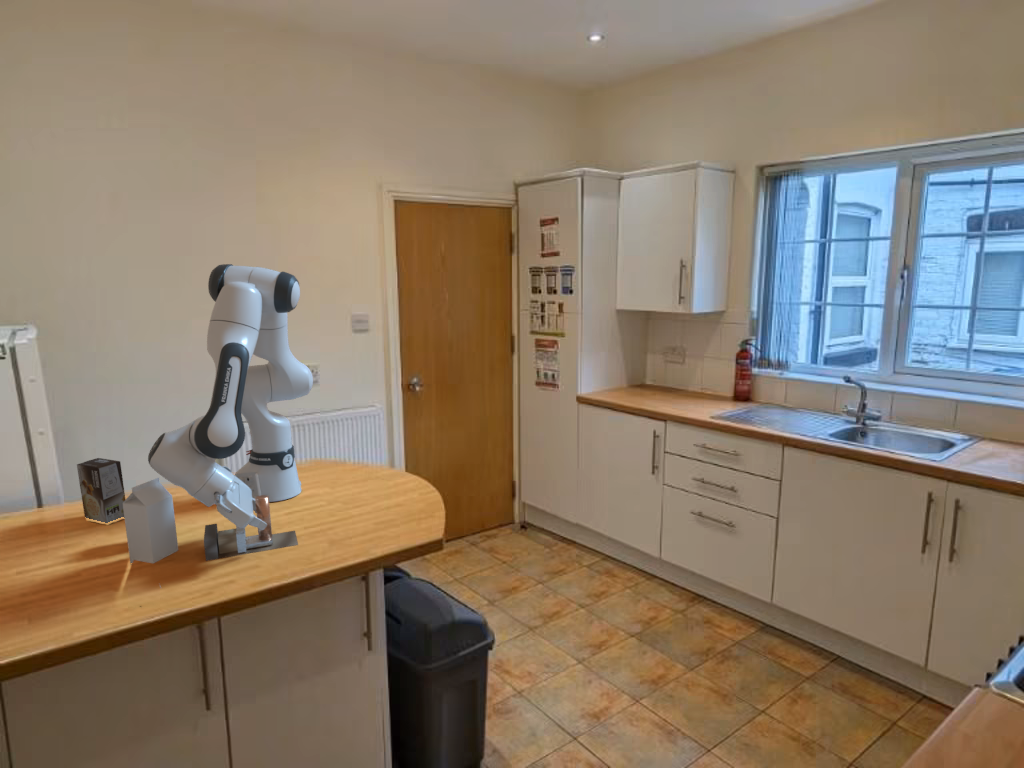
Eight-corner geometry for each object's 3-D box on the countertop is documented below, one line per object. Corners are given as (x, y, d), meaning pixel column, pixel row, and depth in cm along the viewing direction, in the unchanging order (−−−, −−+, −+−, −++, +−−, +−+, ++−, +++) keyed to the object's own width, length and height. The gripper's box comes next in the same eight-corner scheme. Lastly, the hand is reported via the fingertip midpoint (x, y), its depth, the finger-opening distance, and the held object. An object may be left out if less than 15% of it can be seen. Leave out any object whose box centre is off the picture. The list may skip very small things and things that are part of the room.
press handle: (238, 553, 148) (233, 507, 146) (237, 539, 156) (233, 495, 153) (273, 547, 151) (269, 502, 149) (271, 534, 158) (267, 491, 156)
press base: (206, 566, 146) (203, 540, 144) (208, 550, 154) (205, 525, 152) (298, 550, 153) (296, 525, 152) (295, 536, 161) (293, 511, 160)
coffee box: (129, 517, 175) (122, 460, 172) (107, 526, 169) (99, 467, 166) (106, 512, 178) (98, 457, 175) (83, 521, 172) (75, 464, 169)
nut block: (219, 553, 149) (217, 537, 148) (219, 546, 152) (218, 531, 151) (238, 550, 150) (236, 534, 149) (237, 543, 154) (236, 528, 153)
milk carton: (179, 556, 151) (170, 479, 148) (153, 569, 145) (144, 489, 141) (156, 551, 153) (147, 476, 150) (130, 565, 147) (119, 486, 143)
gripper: (224, 490, 139) (275, 525, 144) (225, 463, 157) (271, 495, 163) (203, 513, 138) (256, 547, 143) (207, 483, 156) (253, 514, 162)
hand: (264, 519), depth 153 cm, fingers open, 8 cm apart
